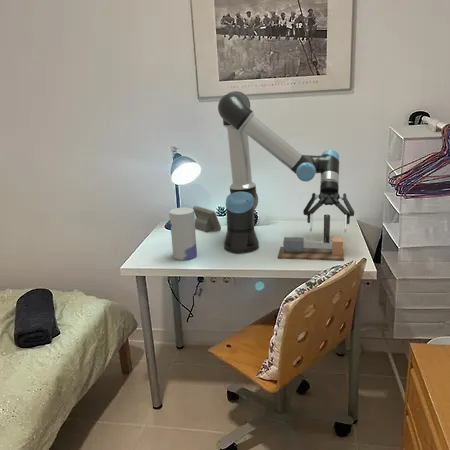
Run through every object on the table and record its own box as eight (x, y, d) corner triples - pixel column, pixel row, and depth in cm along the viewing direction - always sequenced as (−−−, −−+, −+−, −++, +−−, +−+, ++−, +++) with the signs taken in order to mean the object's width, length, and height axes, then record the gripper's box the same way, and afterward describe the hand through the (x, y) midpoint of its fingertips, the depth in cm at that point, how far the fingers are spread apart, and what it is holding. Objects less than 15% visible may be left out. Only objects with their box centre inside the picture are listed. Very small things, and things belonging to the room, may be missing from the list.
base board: (277, 258, 204) (277, 256, 204) (280, 248, 214) (280, 246, 214) (343, 260, 199) (343, 258, 199) (343, 250, 209) (343, 248, 209)
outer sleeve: (283, 253, 207) (283, 240, 205) (284, 249, 210) (284, 237, 209) (303, 254, 205) (303, 241, 203) (303, 250, 209) (303, 237, 207)
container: (175, 251, 217) (172, 207, 211) (198, 251, 216) (195, 206, 210) (171, 260, 208) (167, 214, 201) (194, 260, 206) (191, 213, 200)
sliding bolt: (297, 247, 206) (297, 215, 201) (298, 245, 208) (298, 214, 203) (339, 249, 202) (340, 216, 198) (339, 246, 204) (340, 214, 200)
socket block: (332, 255, 202) (332, 241, 200) (332, 250, 207) (332, 237, 205) (342, 255, 201) (342, 241, 200) (342, 251, 206) (342, 237, 204)
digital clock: (222, 231, 240) (221, 209, 237) (206, 235, 236) (204, 213, 233) (207, 222, 254) (206, 202, 250) (191, 226, 250) (189, 205, 246)
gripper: (359, 189, 211) (359, 235, 202) (299, 188, 216) (297, 233, 207) (360, 180, 204) (360, 227, 195) (298, 179, 209) (296, 225, 200)
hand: (327, 230), depth 201 cm, fingers open, 13 cm apart
